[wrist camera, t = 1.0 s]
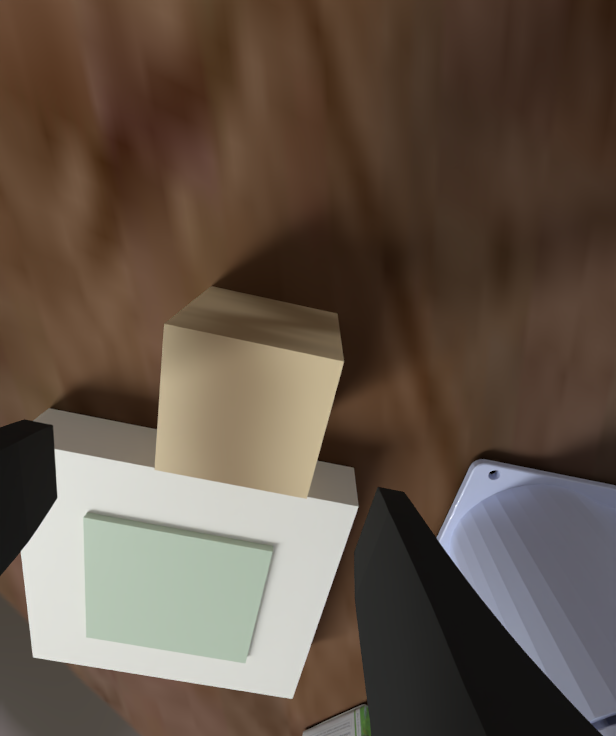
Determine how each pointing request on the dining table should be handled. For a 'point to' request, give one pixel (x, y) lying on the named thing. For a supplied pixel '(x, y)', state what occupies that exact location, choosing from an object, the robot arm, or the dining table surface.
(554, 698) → the robot arm
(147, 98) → the dining table surface
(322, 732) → the syrup box
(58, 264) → the dining table surface
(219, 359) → the birch block
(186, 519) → the base plinth
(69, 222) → the dining table surface
